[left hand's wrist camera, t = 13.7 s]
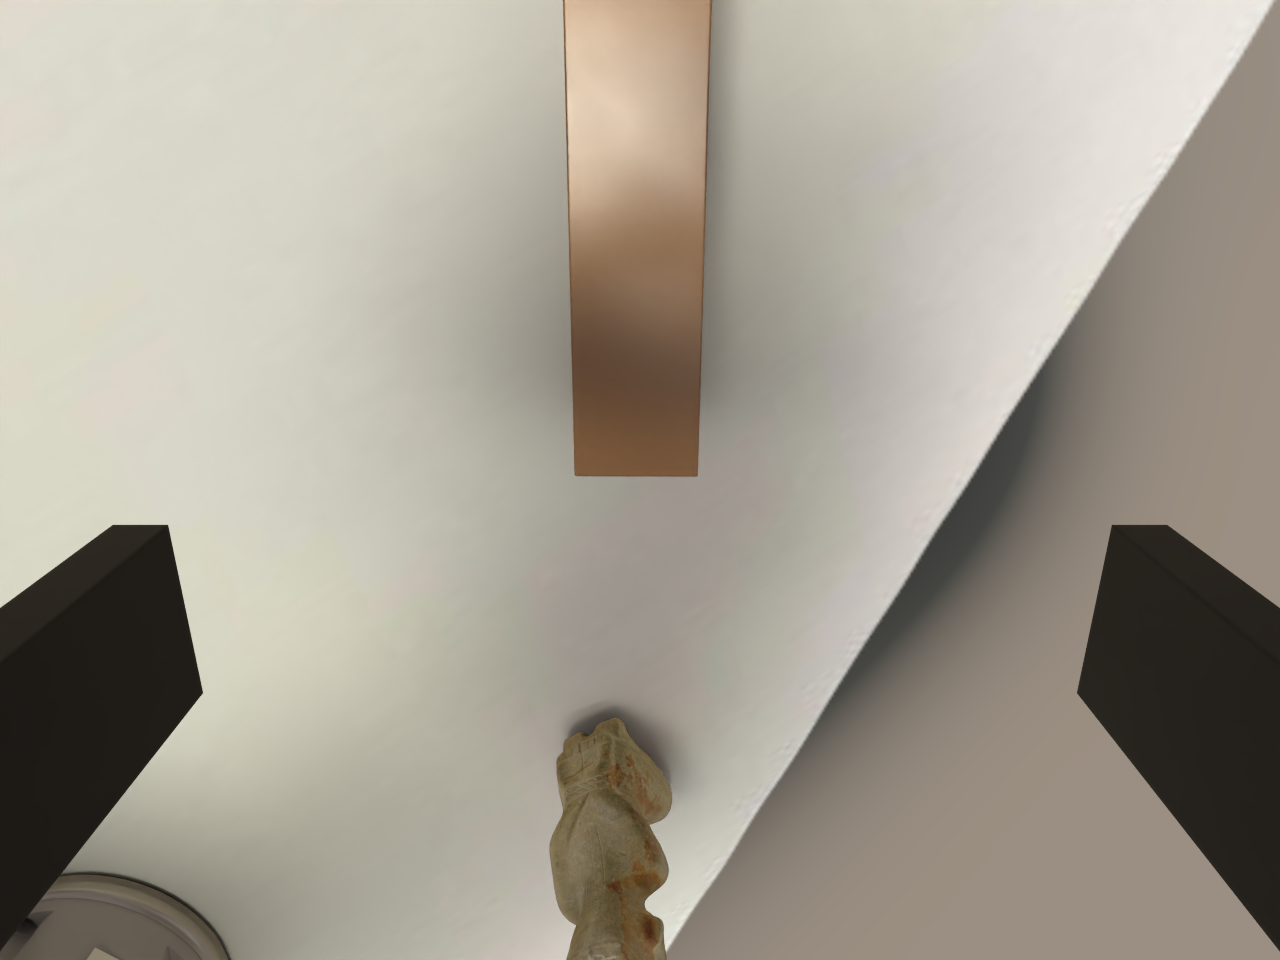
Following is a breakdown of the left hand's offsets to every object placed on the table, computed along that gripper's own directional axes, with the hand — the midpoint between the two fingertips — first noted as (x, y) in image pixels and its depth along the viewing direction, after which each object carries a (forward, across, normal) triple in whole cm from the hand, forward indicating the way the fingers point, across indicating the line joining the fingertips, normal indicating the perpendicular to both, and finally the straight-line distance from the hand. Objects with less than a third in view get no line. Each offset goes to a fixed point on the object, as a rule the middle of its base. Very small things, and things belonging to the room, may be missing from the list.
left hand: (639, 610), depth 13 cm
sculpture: (+31, +1, +27) cm, 41 cm away
